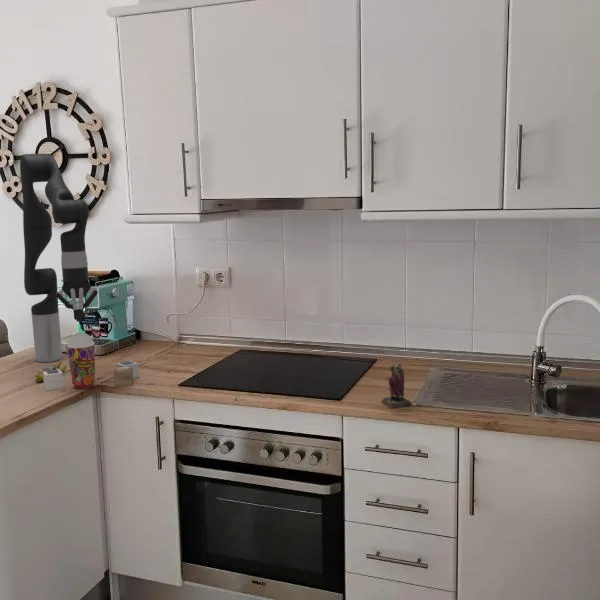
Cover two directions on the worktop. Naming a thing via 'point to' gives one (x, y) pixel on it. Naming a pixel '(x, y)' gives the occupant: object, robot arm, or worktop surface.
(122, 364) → the block grey numbered
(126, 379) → the block walnut numbered
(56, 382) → the white hollow cube
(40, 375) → the toy
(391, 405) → the figurine
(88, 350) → the smoothie
